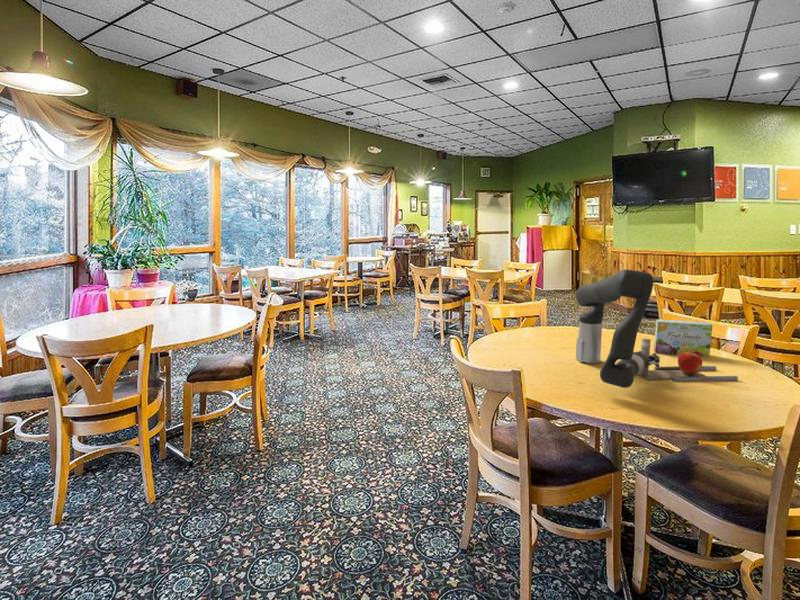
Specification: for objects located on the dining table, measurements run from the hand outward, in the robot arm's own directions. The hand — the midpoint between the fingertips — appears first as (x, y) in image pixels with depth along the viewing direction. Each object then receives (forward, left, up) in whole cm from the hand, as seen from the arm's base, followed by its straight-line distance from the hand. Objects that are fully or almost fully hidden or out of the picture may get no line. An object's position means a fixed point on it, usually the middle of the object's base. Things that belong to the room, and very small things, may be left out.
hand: (647, 354), depth 184 cm
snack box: (+30, +28, -8) cm, 42 cm away
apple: (+15, -2, -8) cm, 17 cm away
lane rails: (+18, -2, -8) cm, 20 cm away
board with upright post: (+8, -2, -8) cm, 12 cm away
